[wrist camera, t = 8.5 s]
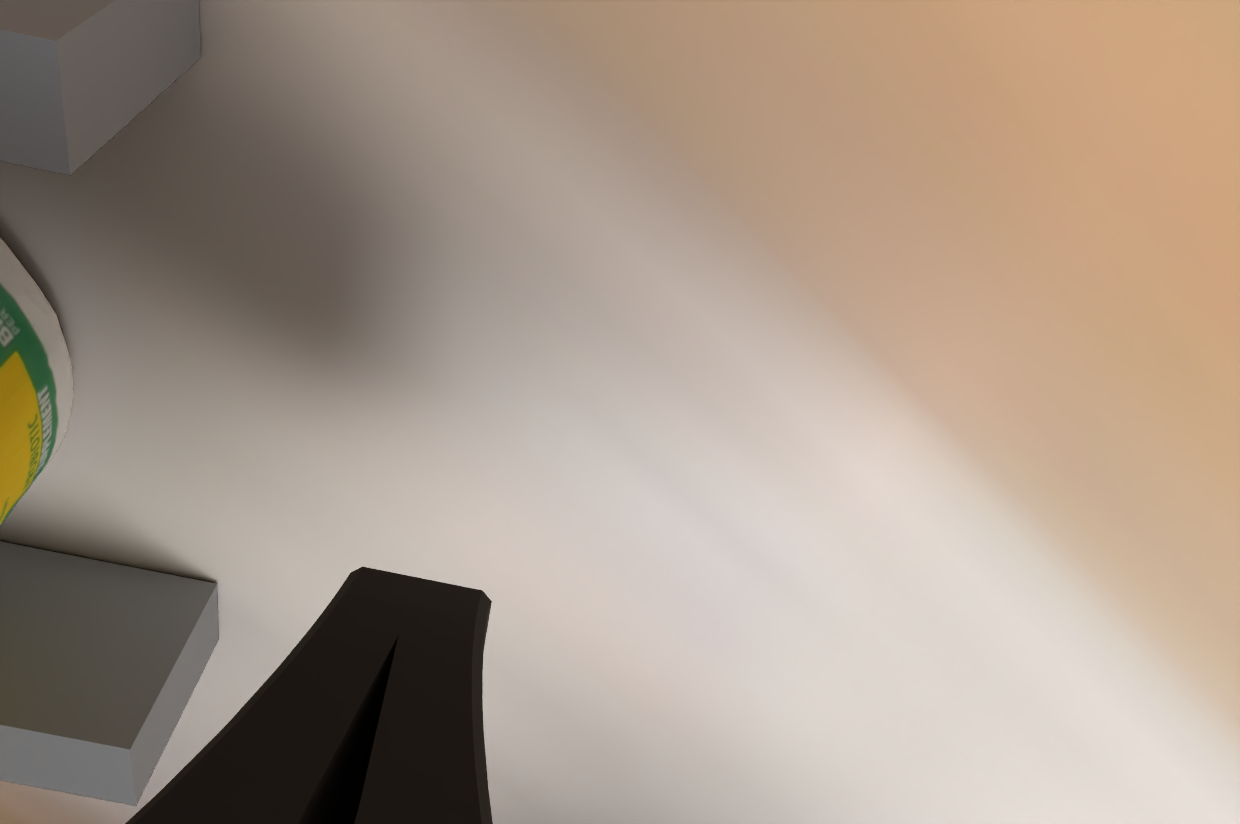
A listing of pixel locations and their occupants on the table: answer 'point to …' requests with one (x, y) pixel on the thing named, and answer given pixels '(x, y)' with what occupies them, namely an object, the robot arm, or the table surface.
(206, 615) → the u rest
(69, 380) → the supplement bottle
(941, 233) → the table surface
